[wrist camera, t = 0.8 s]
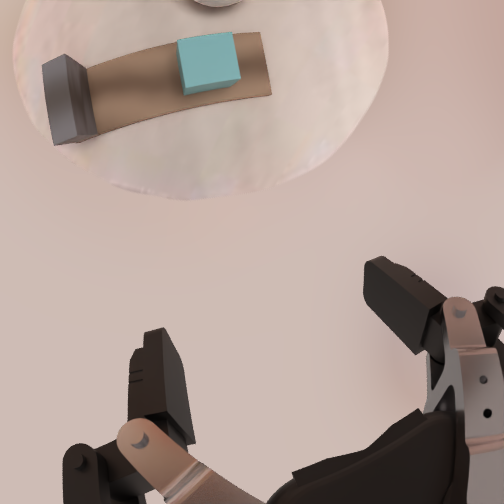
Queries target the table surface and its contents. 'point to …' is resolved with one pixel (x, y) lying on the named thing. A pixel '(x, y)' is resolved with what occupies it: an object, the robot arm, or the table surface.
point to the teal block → (207, 62)
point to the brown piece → (138, 89)
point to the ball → (217, 2)
